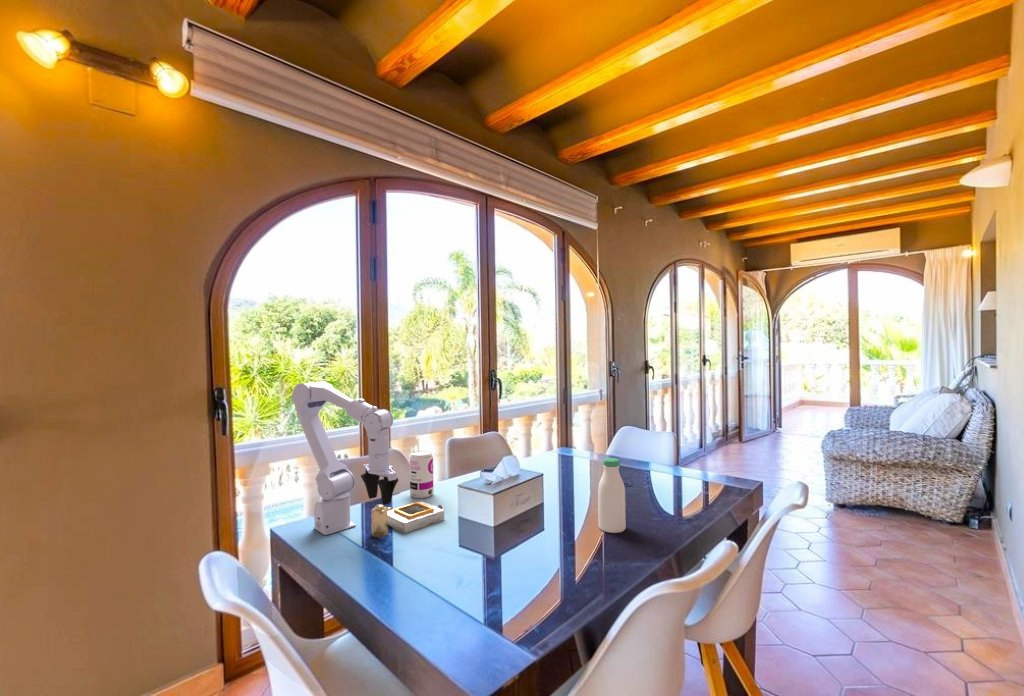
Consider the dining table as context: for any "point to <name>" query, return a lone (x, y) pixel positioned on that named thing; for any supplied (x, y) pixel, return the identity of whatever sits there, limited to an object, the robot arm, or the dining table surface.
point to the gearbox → (415, 516)
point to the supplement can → (421, 474)
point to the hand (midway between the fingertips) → (379, 500)
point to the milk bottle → (611, 498)
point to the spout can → (380, 520)
